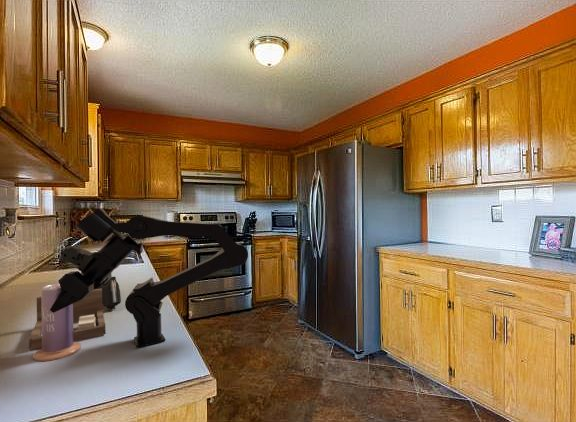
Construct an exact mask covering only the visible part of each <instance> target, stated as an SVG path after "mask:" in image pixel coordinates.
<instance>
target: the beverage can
mask: <svg viewBox="0 0 576 422" xmlns="http://www.w3.org/2000/svg"><path fill="white" fill-rule="evenodd" d="M41 288H42V290H41V292H40V295H41V296H40V297H41V306H42V335H41V336H42V351H43V352H44V353H45V354H56V353H61V352H64V351H66V350H68V349H70V348H71V347H72V345H73V343H74V342H73V330H74V323H73V304H71V305H69V306H67V307H65V308H63V309H61V310H59V311H57V312H54V313H53V312H51V311H50V309H51V307H52V305H53V304H54V302H55V300H56V299H57V297H58V296H59V294H60V292H61V286H60V285H59V283H55V284H49V285H45V286H42V287H41Z"/></svg>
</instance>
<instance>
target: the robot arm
mask: <svg viewBox="0 0 576 422" xmlns="http://www.w3.org/2000/svg"><path fill="white" fill-rule="evenodd" d="M75 228H76V229H77V230H79V232H81V233H82V234H84V235H85V236H86V237H87V238H88V239H89V240H91V241H92V242H93V243H95V244H97V243H99V242H100V243H102V244H104V243H105V242H107V241H108V240H109V239H110V238H111V237H112V238H111V239H110V240H109V241H108V242H107V243H106V244H104V246H102V248H100V249H99V250H98V251H94V252H92V251H89V250H87V249H84V248H82V247H78V246H75V245H68V246H65V247H64V249H63V250H62V251H60V252H59V254H60V257H59V261H60V262H64V263H66V262H67V263H69V264H72V265H75V266H78V267H76V269H77V270H75V271H69V272H67V273H65V274H64V275H63V276H61V278H59V279H58V284H59V285H60V286H61V292H60V294H59V296H58V297H57V299H56V300H55V302H54V304H53V305H52V307H51V309H50V311H51V312H53V313H54V312H57V311H59V310H61V309H63V308H65V307H67V306H69V305H71V304H73V303H75V302H77V301H79V300H82V299H83V298H85V297H86V296H87V295H88V294H89V293H90V292H91V291H92V290H95V289H97V288H98V287H100V286H102V285H103V284H105V283H106V282H107V281H108V280H109V279H110V278H111V277H113V276H112V273H113V272H114V271H115V270H116V269H117V268H119V266H121V264H122V263H123V262H124V260H126V259H127V258H128V257H129V256H131V254H132V253H133V252H135V253H136V254H138V255H141V254H143V252H144V249H143V247H144V242H137V241H136V240H135V239H137V240H142V239H150V238H157V237H165V236H169V237H170V236H171V237H172V236H173V237H192V238H193V237H195V238H210V239H211V238H212V239H214V241H215V242H216V243H217V244H218V245H219V246H220V248H221V249H220V250H218V252H216V253H215V254H214V255H212V256H211V257H209V258H207V259H205V260H203V261H201V262H199V263H197V264H195V265H192V266H190V267H188V268H186V269H184V270H181V271H180V272H178V273H175V274H173V275H172V276H171V275H170V276H169V277H167V278H165V279H162V280H159V281H154V277H150V278H149V279H147V280H146V281H144V282H141V283H137V284H136V285H135V286H134V288H133V289H132V291H131V292H130V293H129V295H128V296H127V297H126V299H125V302H124V306H125V309H126V311H127V312H129V314H131V315H133V318H134V321H135V323H136V336H134V337H133V341H134V343H135V345H136V347H137V348H141V347H145V346H150V345H153V344H158V343H162V342H165V341H166V338H165V336H164V334H163V333H162V313H160V312H161V309H162V306H163V301H162V300H164V299H165V298H166V297H167V296H169V295H171V294H174V293H175V292H177V291H180V290H182V289H184V288H186V287H188V286H189V285H192V284H195V283H197V282H198V281H200V280H202V279H204V278H206V277H208V276H210V275H213V274H214V273H216V272H219V271H224V270H230V269H233V268H236V267H237V268H238V267H240V266H243V265H244V264H246V262H247V261H248V258H249V252H248V249H247V248H246V247H245V246H244V245H243V244H241V243H239V242H236V241H235V240H234V238H232V237H231V236H230V235H229V233H227V232H226V230H225V229H224V227H223V226H222V224H219V223H216V222H215V223H214V222H213V223H206V222H205V223H199V222H187V221H185V222H184V221H168V220H164V219H160V218H157V217H152V216H148V215H135V216H132V217H131V218H129V220H128V221H119V222H117V221H115V220H114V219H113V218H112V217H110V215H108V214H107V213H106V211H105V210H104V209H102V208H97V209H96V210H95V211H93V212H91V213H89V215H87V216H85V217H83V218H82V219H81V220H80V221H79V222H78V223H77V225H76V227H75ZM123 233H124V234H128V235H127V236H125V235H123ZM113 235H114V236H113Z"/></svg>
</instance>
